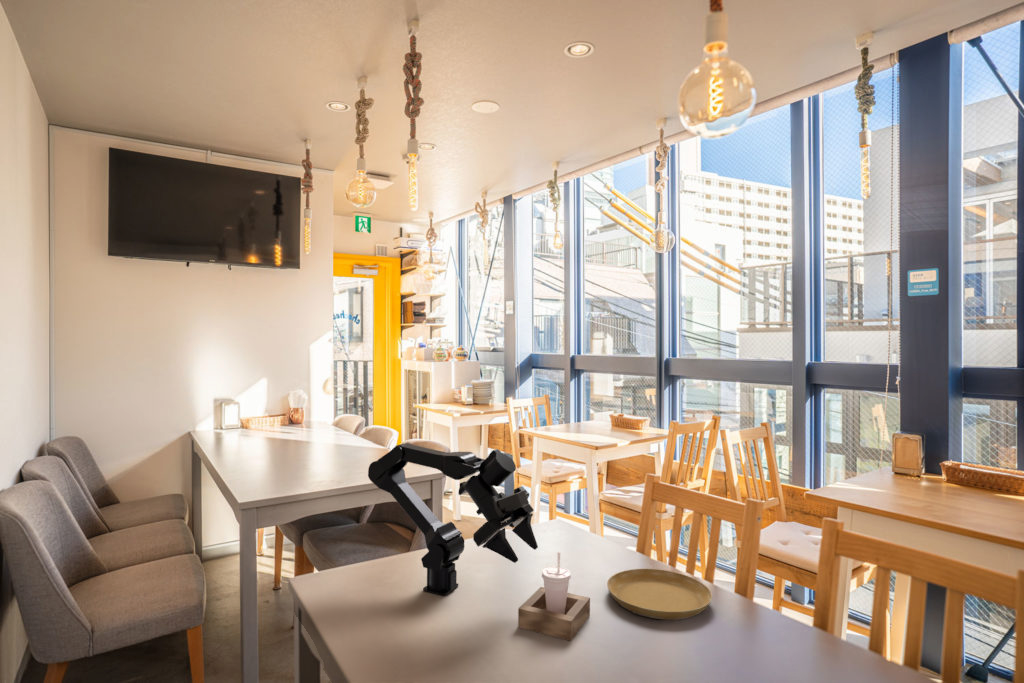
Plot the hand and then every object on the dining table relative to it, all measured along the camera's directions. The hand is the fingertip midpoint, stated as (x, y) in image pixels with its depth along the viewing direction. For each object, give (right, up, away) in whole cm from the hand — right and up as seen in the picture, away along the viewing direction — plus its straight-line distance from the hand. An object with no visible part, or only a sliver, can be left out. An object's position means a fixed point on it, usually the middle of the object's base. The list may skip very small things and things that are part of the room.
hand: (526, 554), depth 127 cm
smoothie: (+6, -13, -3) cm, 14 cm away
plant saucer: (+32, -14, +7) cm, 35 cm away
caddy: (+6, -13, -4) cm, 15 cm away
